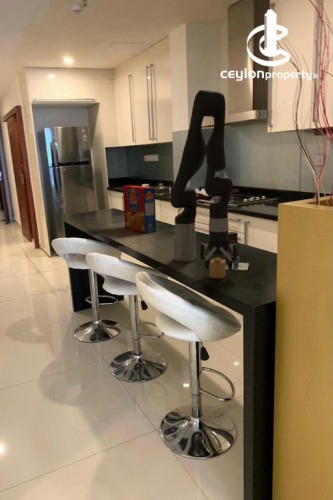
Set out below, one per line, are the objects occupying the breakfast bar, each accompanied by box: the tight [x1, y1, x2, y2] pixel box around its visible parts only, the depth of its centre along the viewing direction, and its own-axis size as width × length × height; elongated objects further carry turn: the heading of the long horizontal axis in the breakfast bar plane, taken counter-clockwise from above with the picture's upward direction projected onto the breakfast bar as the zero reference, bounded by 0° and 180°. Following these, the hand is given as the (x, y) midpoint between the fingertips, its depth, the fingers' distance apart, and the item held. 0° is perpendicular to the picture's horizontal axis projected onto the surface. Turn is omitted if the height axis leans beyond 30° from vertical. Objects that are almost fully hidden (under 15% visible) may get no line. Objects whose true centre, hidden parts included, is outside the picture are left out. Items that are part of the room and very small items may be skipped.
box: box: [222, 231, 239, 261], centre depth 178 cm, size 6×4×12 cm
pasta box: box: [122, 184, 157, 235], centre depth 250 cm, size 28×8×28 cm, turn 32°
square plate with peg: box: [226, 255, 250, 272], centre depth 165 cm, size 10×10×4 cm
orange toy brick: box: [209, 257, 227, 279], centre depth 154 cm, size 6×6×7 cm
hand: (218, 269), depth 154 cm, fingers open, 8 cm apart
